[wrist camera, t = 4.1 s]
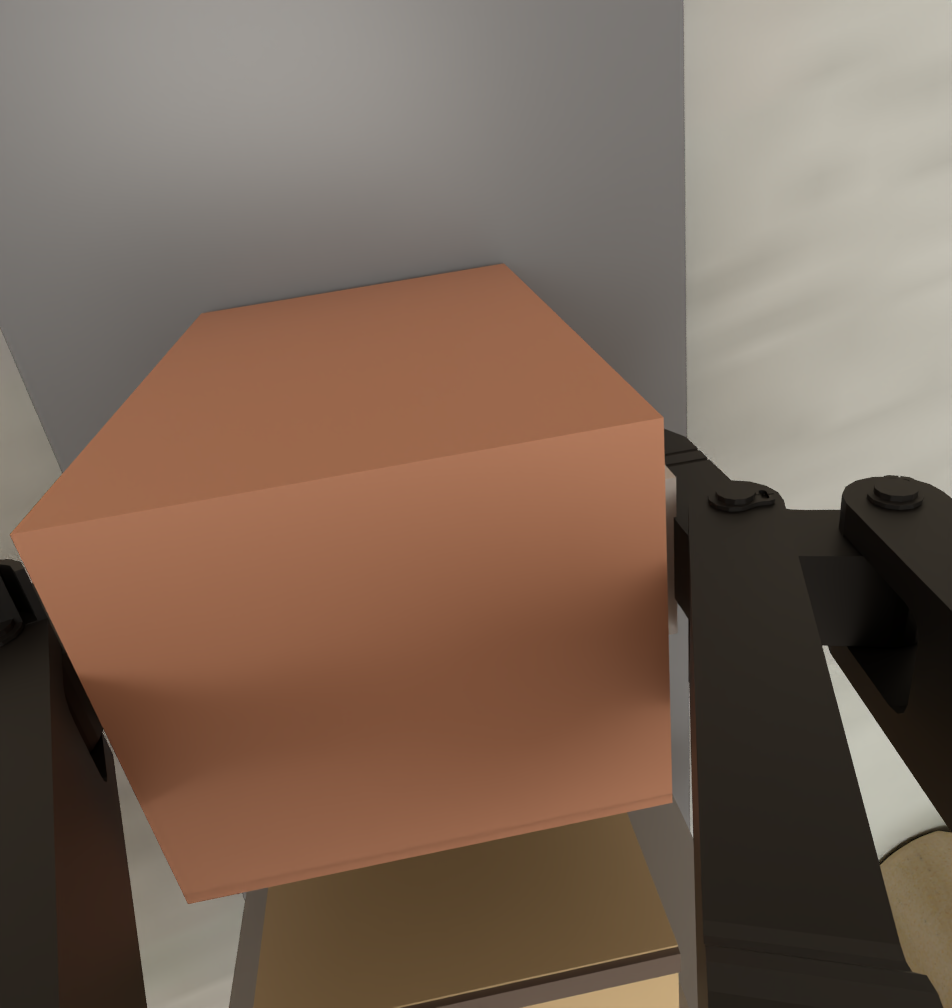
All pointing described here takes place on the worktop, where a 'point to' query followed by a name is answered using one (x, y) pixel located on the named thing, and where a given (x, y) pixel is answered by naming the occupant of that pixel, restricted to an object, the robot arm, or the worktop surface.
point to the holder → (357, 263)
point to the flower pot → (924, 907)
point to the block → (368, 582)
